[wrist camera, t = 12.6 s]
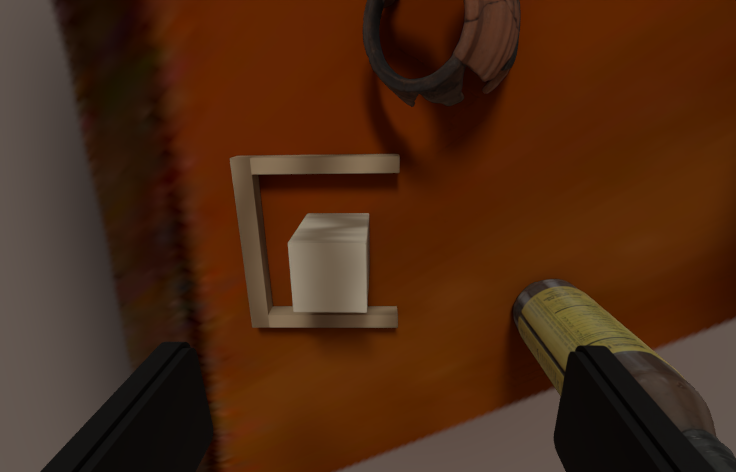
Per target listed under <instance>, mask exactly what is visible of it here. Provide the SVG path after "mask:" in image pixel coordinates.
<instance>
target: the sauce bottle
mask: <svg viewBox="0 0 736 472" xmlns="http://www.w3.org/2000/svg"><path fill="white" fill-rule="evenodd" d="M513 317H514V321H515V324H516V326H517V329H518V330H519V332H520V335H521V337H522V339H523V340H524V342H525V343H526V345H527V346H528V348H529V349H530V351H531V352H532V354H533V355H534V357H535V358H536V360H537V361H538V363H539V364H540V366H541V367H542V369H543V370H544V372H545V373H546V375H547V376H548V378H549V379H550V381H551V382H552V384H553V385H554V387H555V388H556V390H557V391H558V393H559V394H560V396H561V392H562V387H563V381H564V376H565V370H566V365H567V359H568V355H569V353H570V352H572V351H575V349H576V348H577V346H580V345H602V346H606V347H607V348H608V349H609V350H610V351H611V352H612V353H613V354H614V355H615V357H616V358H617V359H618V360H619V361H620V362H621V363H622V365H623V366H624V367H625V368H626V369H627V370H628V371H629V373H630V374H631V375H632V376H633V377H634V378H635V379H636V381H637V382H638V383H639V384H640V385H641V386H642V387H643V389H644V390H645V391H646V392H647V393H648V394H649V395H650V397H651V398H652V399H653V400H654V401H655V402H656V403H657V405H658V406H659V407H660V408H661V409H662V410H663V411H664V413H665V414H666V415H667V416H668V417H669V418H670V419H671V421H672V422H673V423H674V424H675V425H676V426H677V427H678V429H679V430H680V431H681V432H682V433H683V434H684V435H685V437H686V438H687V439H688V440H689V441H690V442H691V444H692V445H693V446H694V447H695V448H696V449H697V450H698V452H699V453H700V454H701V455H702V456H703V457H704V458H705V460H706V461H707V462H708V463H709V464H710V465H711V466H712V468H713V469H714V470H715V471H716V472H736V458H735V457H734V455H733V453H732V452H731V450H730V449H729V448H728V447H726V446H725V445H724V444H723V443H721V442H720V441H719V440H718V438H717V437H716V433H715V428H714V424H713V420H712V417H711V414H710V411H709V408H708V407H707V404H706V402H705V401H704V400H703V398H702V397H701V396H700V394H699V393H698V392H697V391H696V390H695V388H694V387H693V386H691V385H690V384H689V383H688V382H687V381H686V380H685V379H684V378H683V377H682V375H681V374H680V373H679V372H678V371H677V370H675V369H674V368H673V367H672V366H671V365H670V364H668V363H667V362H666V361H665V360H664V359H662V358H661V357H660V356H659V355H658V354H657V353H655V352H654V351H653V350H652V349H651V348H649V347H648V346H647V345H646V344H645V343H643V342H642V341H641V340H640V339H639V338H637V337H636V336H635V335H634V334H633V333H632V332H630V331H629V330H628V329H627V328H626V327H624V326H623V325H622V324H621V323H620V322H619V321H617V320H616V319H615V318H614V317H613V316H611V315H610V314H609V313H608V312H607V311H606V310H604V309H603V308H602V307H601V306H600V305H599V304H597V303H596V302H595V301H594V300H593V299H591V298H590V297H589V296H588V295H587V294H585V293H584V292H582V291H580V290H578V289H577V288H576V287H574V286H573V285H571V284H570V283H569V282H566V281H564V280H560V279H548V280H542V281H539V282H534V283H532V284H530V285H529V286H528V287H526V288H525V289H524V290H523V291H522V292H521V294H520V295H519V296H518V298H517V300H516V302H515V303H514V306H513Z"/></svg>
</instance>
